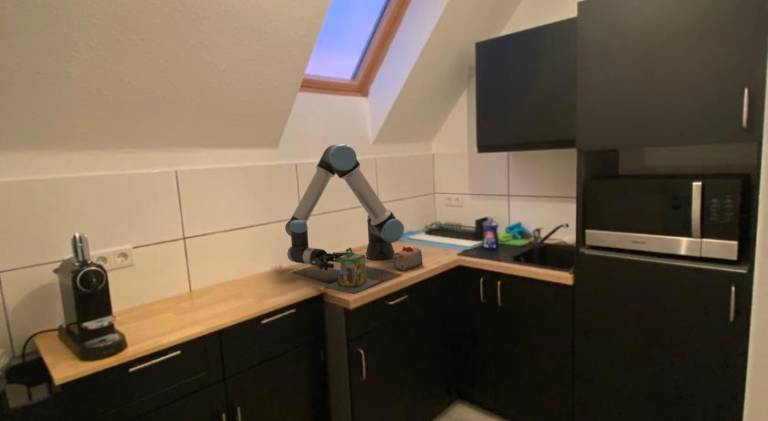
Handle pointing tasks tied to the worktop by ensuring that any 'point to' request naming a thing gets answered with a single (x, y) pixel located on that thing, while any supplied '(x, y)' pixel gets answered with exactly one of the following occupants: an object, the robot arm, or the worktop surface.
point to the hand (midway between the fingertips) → (351, 262)
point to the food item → (407, 258)
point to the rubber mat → (353, 289)
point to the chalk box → (351, 269)
